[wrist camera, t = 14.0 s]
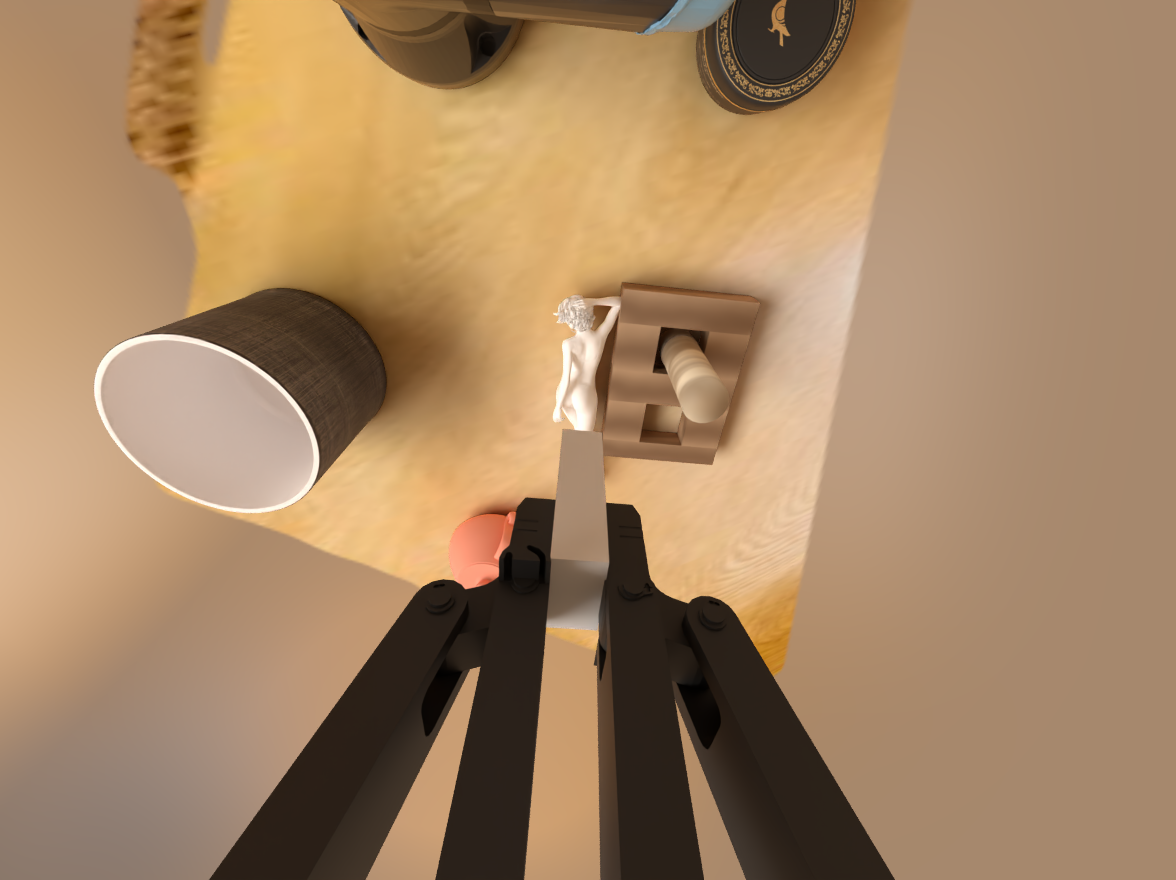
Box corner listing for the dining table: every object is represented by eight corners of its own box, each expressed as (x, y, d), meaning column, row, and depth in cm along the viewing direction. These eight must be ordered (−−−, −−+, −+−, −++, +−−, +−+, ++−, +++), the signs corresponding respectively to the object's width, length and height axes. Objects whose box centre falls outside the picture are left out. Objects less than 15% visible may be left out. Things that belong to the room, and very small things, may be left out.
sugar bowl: (443, 548, 67) (421, 604, 58) (477, 483, 61) (459, 535, 52) (517, 575, 70) (507, 633, 61) (557, 516, 64) (553, 571, 55)
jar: (716, 143, 41) (740, 138, 34) (670, 16, 36) (688, -19, 30) (825, 72, 38) (875, 52, 32) (790, -74, 34) (840, -133, 27)
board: (622, 282, 47) (623, 288, 44) (751, 296, 48) (760, 303, 45) (600, 442, 57) (600, 455, 55) (706, 451, 58) (712, 464, 55)
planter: (399, 434, 57) (341, 516, 43) (257, 429, 56) (154, 510, 43) (370, 291, 48) (284, 338, 34) (200, 283, 47) (46, 328, 34)
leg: (660, 323, 49) (686, 377, 36) (697, 327, 50) (736, 382, 37) (654, 359, 51) (676, 421, 39) (689, 362, 52) (723, 425, 39)
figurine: (585, 468, 62) (583, 283, 49) (618, 483, 59) (625, 291, 46) (548, 495, 57) (535, 297, 44) (582, 513, 54) (579, 306, 41)
